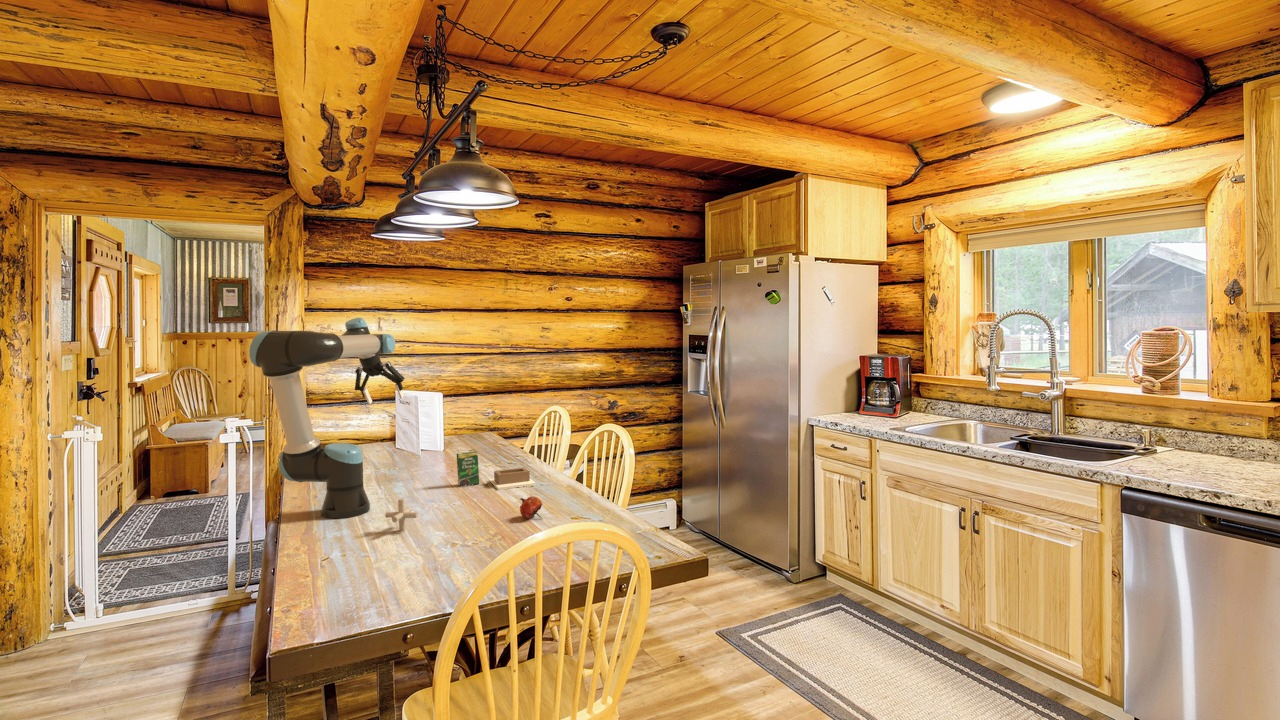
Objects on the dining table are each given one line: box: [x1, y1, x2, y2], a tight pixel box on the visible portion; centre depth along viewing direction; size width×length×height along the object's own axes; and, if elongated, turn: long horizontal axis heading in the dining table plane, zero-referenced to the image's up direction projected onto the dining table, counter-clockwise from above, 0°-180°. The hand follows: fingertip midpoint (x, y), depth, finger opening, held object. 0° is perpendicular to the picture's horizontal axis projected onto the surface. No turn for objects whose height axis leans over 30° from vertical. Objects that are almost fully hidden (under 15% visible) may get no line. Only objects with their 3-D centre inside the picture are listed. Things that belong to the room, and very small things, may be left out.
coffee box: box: [456, 450, 480, 487], centre depth 258 cm, size 8×3×13 cm, turn 118°
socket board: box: [488, 467, 537, 491], centre depth 260 cm, size 15×15×5 cm
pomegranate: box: [519, 495, 544, 520], centre depth 215 cm, size 7×7×10 cm
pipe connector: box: [384, 497, 419, 532], centre depth 204 cm, size 10×10×10 cm
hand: (386, 400), depth 271 cm, fingers open, 13 cm apart
